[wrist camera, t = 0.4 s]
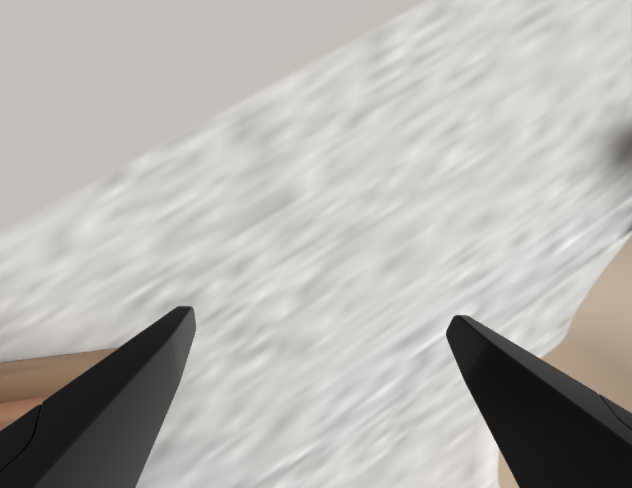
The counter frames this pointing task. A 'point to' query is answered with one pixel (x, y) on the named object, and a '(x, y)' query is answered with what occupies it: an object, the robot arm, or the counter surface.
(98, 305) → the counter surface
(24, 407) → the block on square base
